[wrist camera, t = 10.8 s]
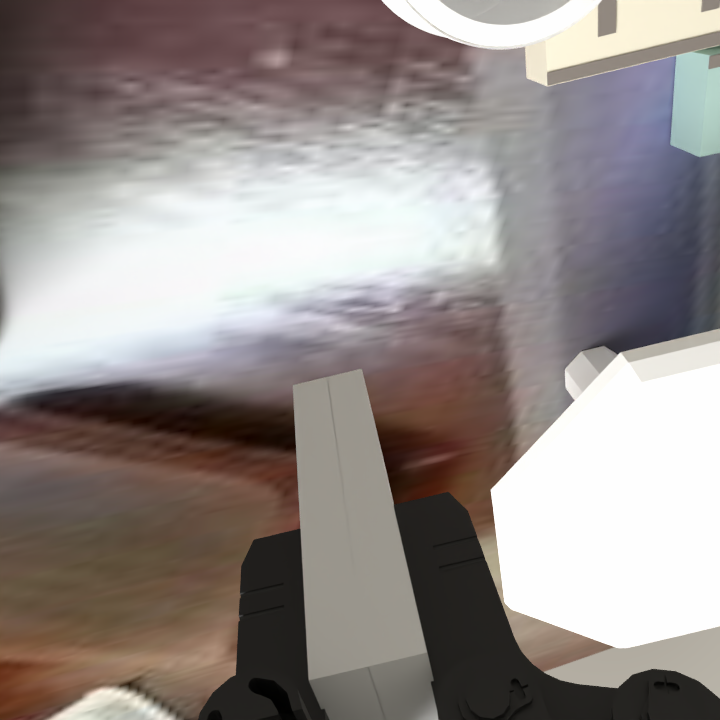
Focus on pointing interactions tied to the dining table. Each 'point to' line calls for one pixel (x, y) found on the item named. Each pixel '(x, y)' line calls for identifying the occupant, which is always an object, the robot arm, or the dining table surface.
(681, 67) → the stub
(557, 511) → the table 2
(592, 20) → the cream slotted block
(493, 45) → the jar
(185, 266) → the dining table surface
